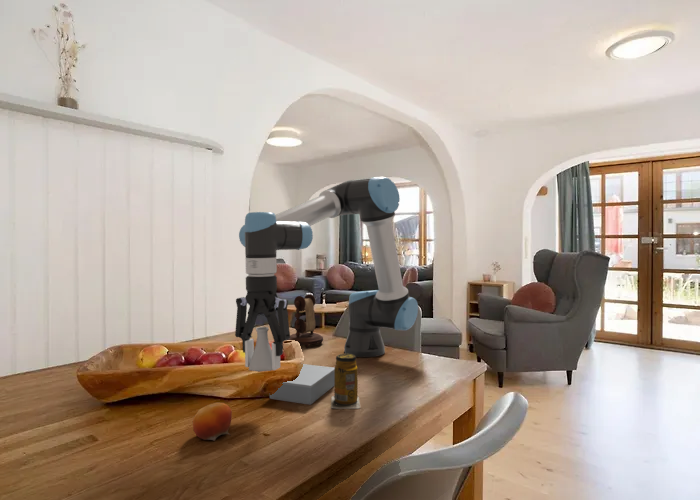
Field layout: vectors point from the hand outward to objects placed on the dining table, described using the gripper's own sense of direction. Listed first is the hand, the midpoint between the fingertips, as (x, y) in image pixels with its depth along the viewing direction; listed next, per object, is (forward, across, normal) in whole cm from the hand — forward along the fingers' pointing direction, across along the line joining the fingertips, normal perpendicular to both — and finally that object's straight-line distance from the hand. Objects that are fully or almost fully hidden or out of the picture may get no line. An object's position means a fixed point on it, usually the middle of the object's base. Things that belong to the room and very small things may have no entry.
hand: (262, 366), depth 107 cm
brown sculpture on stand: (+12, -21, +64) cm, 69 cm away
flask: (+1, 0, 0) cm, 1 cm away
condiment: (+11, +18, +11) cm, 24 cm away
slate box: (+11, +4, +14) cm, 18 cm away
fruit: (+11, -2, -16) cm, 20 cm away
